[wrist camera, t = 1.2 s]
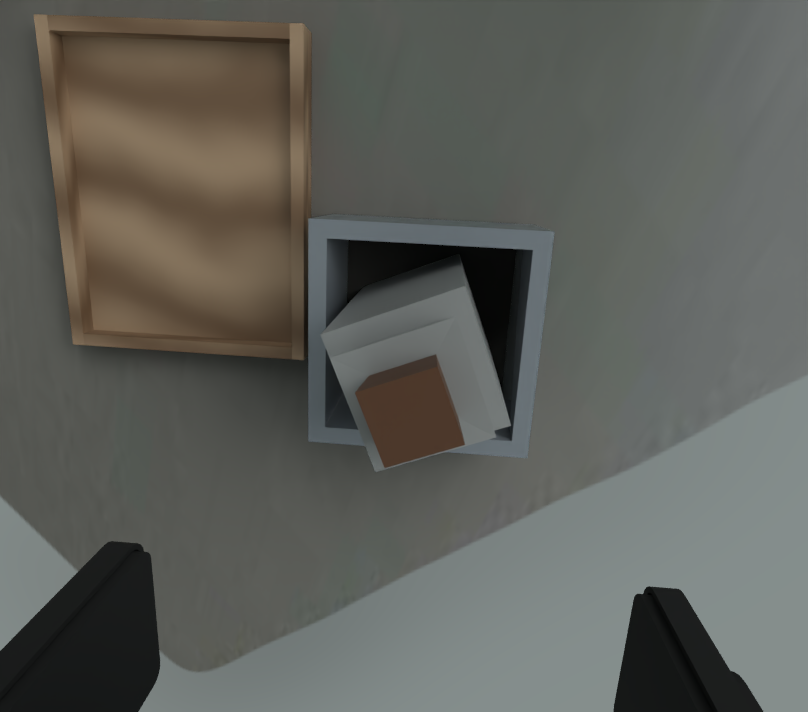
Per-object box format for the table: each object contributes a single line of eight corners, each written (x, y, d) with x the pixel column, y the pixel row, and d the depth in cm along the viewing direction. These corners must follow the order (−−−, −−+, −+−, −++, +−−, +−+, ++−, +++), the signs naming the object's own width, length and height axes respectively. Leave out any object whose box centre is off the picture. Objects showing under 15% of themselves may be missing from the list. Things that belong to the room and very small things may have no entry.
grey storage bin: (333, 213, 37) (308, 218, 30) (534, 224, 36) (554, 231, 29) (331, 400, 41) (308, 441, 34) (513, 413, 40) (527, 458, 33)
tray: (56, 24, 35) (33, 14, 33) (311, 32, 34) (303, 23, 32) (90, 337, 41) (73, 344, 39) (310, 352, 40) (303, 360, 38)
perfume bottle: (490, 347, 39) (523, 472, 21) (397, 377, 40) (358, 518, 22) (459, 253, 37) (469, 305, 20) (363, 286, 38) (293, 364, 21)
